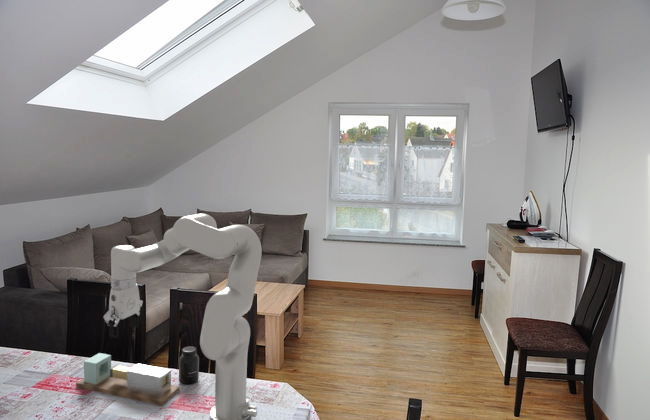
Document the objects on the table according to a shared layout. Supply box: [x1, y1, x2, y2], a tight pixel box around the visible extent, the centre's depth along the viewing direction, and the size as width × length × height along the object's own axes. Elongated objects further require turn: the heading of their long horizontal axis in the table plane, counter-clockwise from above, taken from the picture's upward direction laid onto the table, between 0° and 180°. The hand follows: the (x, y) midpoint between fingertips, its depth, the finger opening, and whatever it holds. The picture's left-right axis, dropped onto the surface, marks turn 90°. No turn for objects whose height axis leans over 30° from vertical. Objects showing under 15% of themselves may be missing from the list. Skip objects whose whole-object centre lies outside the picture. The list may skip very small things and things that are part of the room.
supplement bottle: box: [178, 346, 200, 386], centre depth 160 cm, size 7×7×12 cm
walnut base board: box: [75, 376, 181, 407], centre depth 153 cm, size 34×10×2 cm, turn 74°
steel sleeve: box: [127, 363, 172, 397], centre depth 150 cm, size 13×6×7 cm, turn 74°
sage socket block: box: [83, 352, 112, 384], centre depth 156 cm, size 5×7×8 cm
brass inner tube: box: [110, 364, 166, 386], centre depth 152 cm, size 20×3×3 cm, turn 74°
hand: (124, 331), depth 151 cm, fingers open, 9 cm apart
